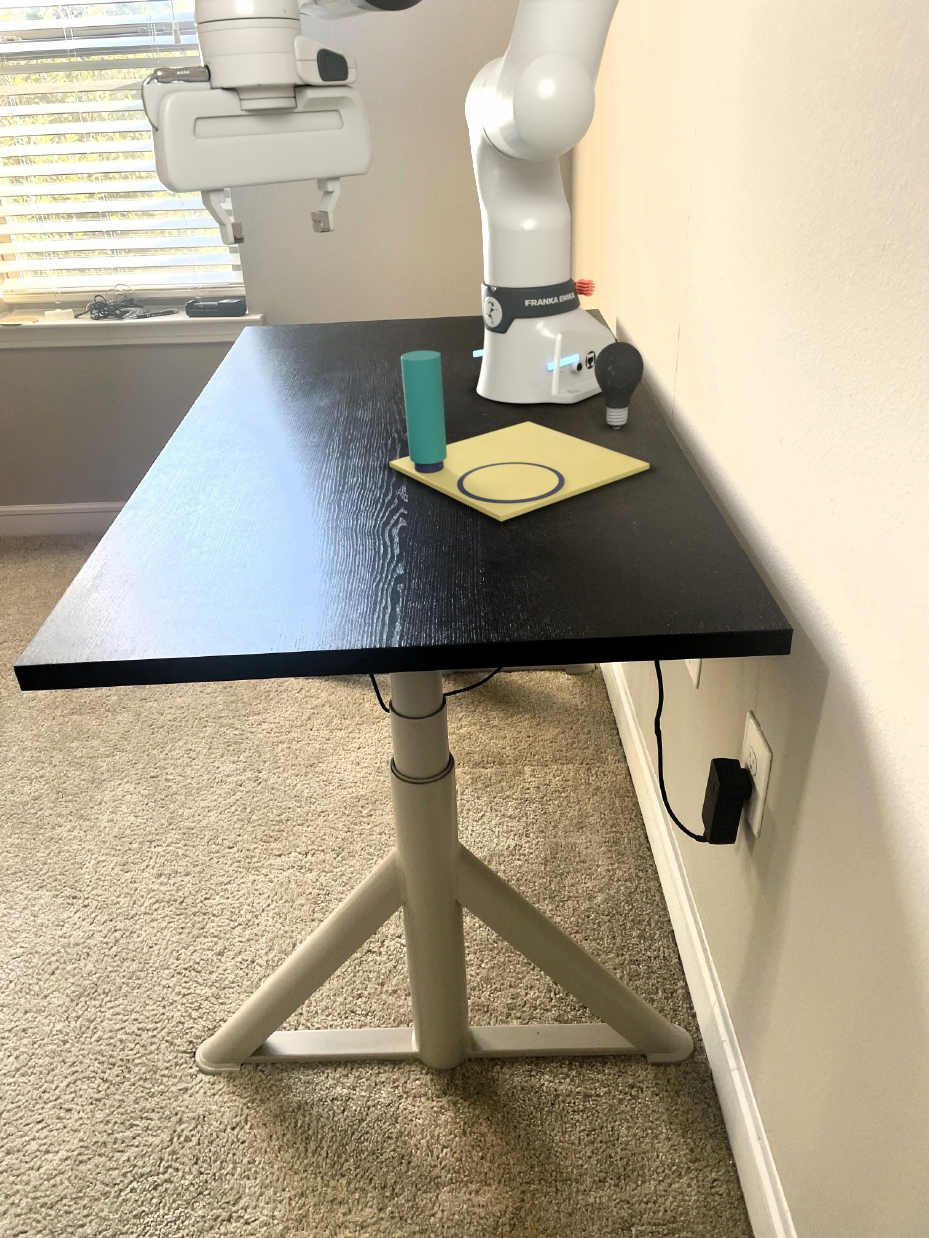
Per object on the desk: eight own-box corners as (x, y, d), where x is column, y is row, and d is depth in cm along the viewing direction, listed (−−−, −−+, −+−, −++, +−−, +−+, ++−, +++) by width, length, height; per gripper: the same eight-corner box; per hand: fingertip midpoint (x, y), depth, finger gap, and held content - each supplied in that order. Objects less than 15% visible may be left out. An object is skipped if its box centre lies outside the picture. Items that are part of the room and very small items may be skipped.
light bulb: (590, 421, 106) (592, 337, 100) (636, 419, 105) (641, 335, 100) (595, 436, 101) (597, 349, 96) (643, 434, 100) (648, 347, 95)
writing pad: (528, 425, 105) (528, 420, 105) (649, 468, 91) (649, 462, 91) (389, 466, 96) (389, 460, 95) (500, 521, 81) (500, 514, 81)
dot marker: (434, 458, 95) (426, 348, 89) (454, 468, 92) (448, 355, 86) (403, 467, 93) (393, 355, 87) (423, 477, 90) (414, 362, 84)
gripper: (148, 65, 67) (186, 255, 74) (372, 59, 77) (387, 227, 84) (123, 70, 72) (161, 249, 79) (338, 64, 82) (355, 223, 89)
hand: (280, 237), depth 82 cm, fingers open, 8 cm apart
